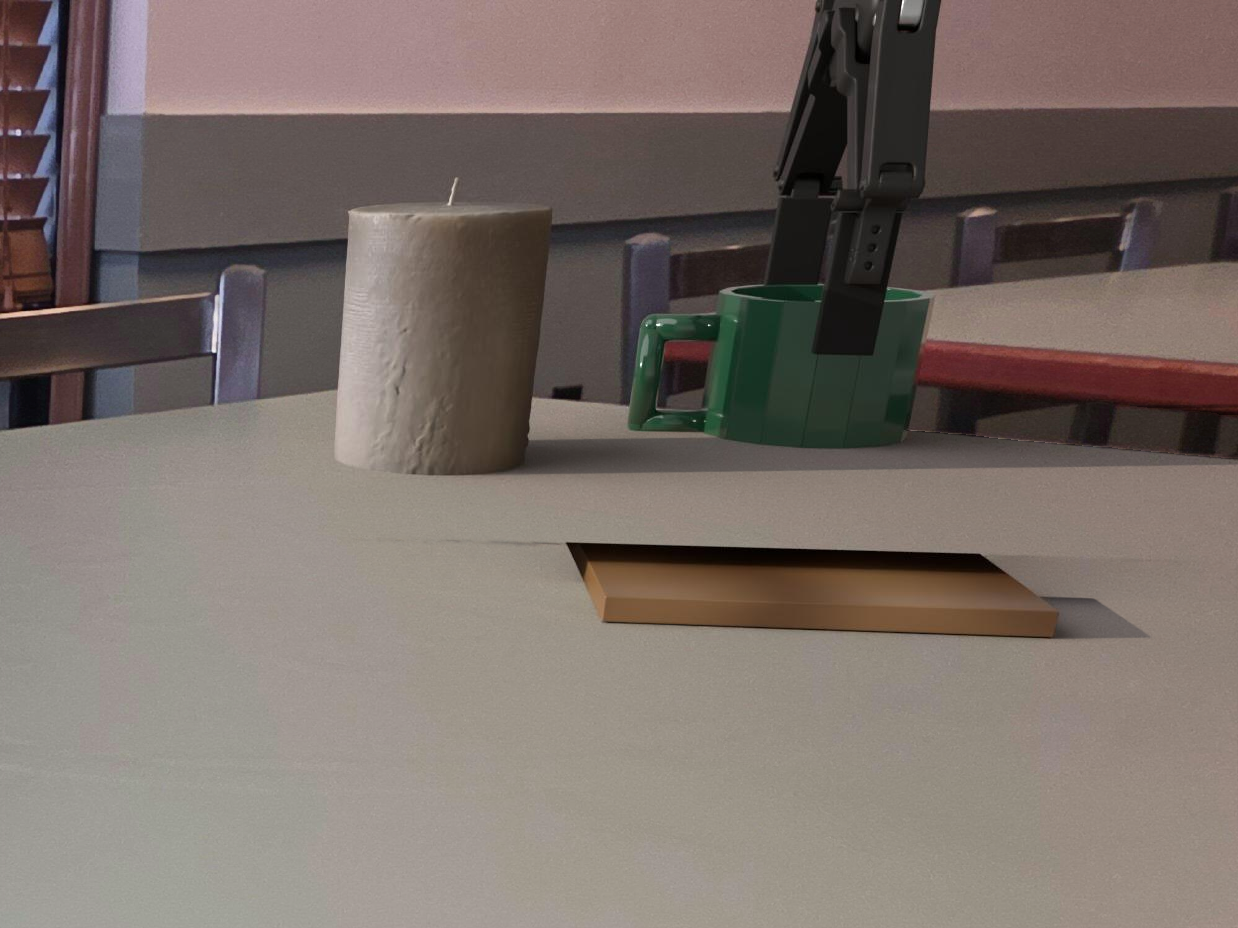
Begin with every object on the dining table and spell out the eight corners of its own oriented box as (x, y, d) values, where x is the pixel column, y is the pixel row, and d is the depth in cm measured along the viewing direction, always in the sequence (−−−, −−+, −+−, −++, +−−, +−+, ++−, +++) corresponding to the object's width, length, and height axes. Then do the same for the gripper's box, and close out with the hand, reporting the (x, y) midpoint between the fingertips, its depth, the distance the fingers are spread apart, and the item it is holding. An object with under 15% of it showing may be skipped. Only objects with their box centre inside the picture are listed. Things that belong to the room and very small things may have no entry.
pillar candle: (548, 488, 90) (586, 174, 84) (481, 522, 83) (517, 181, 77) (373, 471, 95) (396, 173, 89) (296, 501, 88) (315, 180, 82)
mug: (870, 452, 98) (903, 284, 94) (921, 487, 89) (959, 302, 85) (610, 448, 101) (632, 283, 97) (634, 481, 92) (659, 301, 88)
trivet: (928, 541, 78) (933, 519, 78) (1053, 637, 64) (1060, 611, 64) (560, 531, 81) (562, 510, 81) (601, 621, 67) (605, 596, 66)
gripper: (763, -101, 94) (696, 310, 104) (885, -163, 72) (786, 367, 81) (911, -104, 93) (830, 313, 102) (1081, -168, 71) (958, 371, 80)
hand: (810, 338), depth 92 cm, fingers open, 13 cm apart
